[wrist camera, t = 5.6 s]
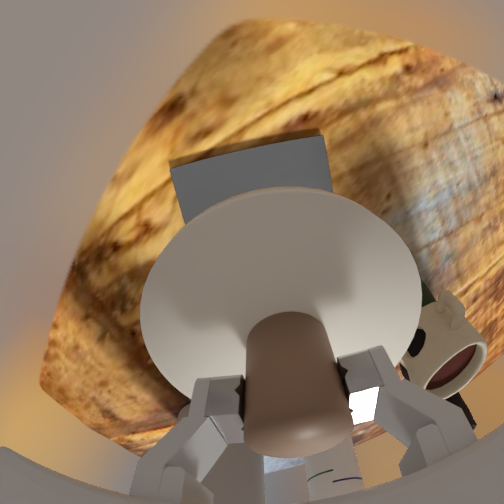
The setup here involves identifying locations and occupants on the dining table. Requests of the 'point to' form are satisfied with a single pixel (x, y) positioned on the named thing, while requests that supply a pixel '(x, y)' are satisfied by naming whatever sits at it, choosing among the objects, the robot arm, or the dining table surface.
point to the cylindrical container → (333, 471)
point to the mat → (251, 173)
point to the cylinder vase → (235, 474)
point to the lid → (281, 308)
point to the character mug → (443, 346)
